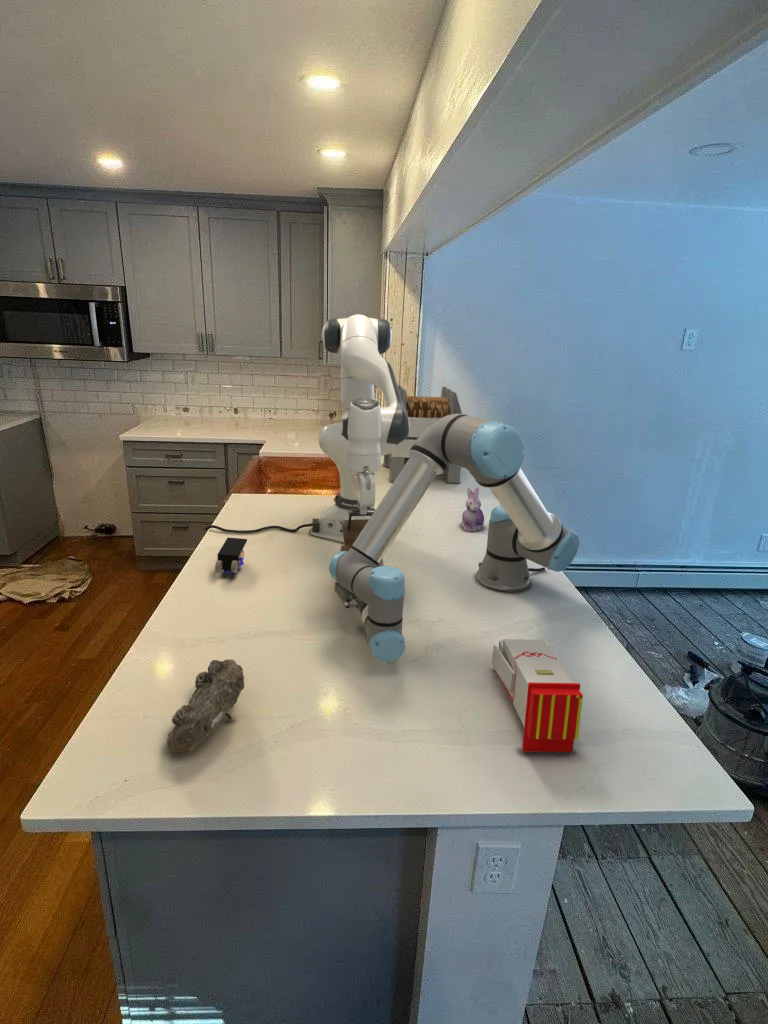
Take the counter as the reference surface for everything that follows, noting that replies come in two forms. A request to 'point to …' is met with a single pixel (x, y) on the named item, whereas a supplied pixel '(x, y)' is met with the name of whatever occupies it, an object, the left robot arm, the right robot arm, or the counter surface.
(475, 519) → the figurine
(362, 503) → the left robot arm
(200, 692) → the fossil
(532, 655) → the toy
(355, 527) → the lid
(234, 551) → the black wheeled rover
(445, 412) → the transformer
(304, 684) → the counter surface
